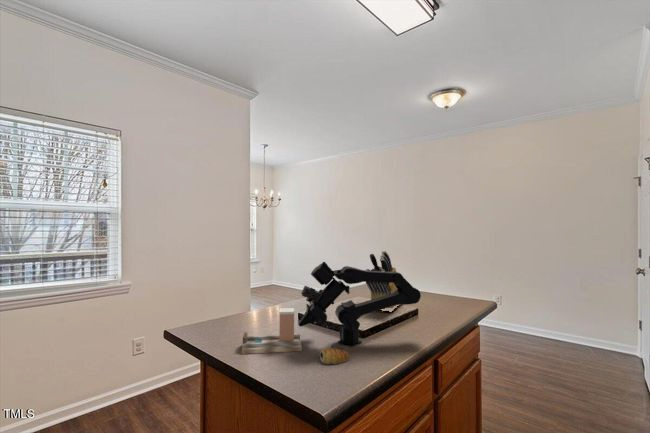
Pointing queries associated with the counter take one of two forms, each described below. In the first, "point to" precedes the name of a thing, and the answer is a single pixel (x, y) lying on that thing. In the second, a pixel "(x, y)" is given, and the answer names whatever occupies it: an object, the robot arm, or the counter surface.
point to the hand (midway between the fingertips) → (299, 325)
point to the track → (269, 344)
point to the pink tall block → (286, 324)
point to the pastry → (333, 356)
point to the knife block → (381, 287)
